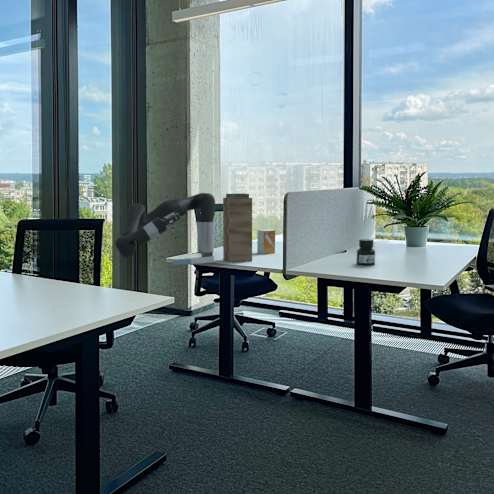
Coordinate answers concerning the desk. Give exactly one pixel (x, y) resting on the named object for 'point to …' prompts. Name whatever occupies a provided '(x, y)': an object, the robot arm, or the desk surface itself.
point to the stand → (237, 228)
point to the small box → (266, 241)
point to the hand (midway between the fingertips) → (184, 210)
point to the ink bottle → (365, 252)
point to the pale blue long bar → (195, 259)
